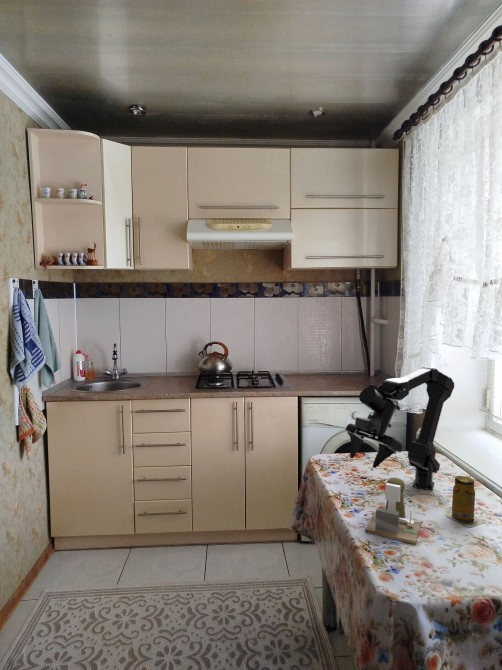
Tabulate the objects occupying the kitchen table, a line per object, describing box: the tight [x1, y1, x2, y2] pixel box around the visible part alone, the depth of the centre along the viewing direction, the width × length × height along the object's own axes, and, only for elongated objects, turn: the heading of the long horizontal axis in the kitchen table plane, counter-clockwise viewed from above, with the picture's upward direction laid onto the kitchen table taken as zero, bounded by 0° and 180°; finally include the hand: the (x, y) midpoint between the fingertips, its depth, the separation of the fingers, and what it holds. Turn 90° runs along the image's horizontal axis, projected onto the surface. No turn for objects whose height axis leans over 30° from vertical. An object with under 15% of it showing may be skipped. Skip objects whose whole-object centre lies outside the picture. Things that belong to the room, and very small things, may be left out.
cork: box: [384, 477, 406, 519], centre depth 137 cm, size 6×6×11 cm
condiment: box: [444, 475, 486, 528], centre depth 134 cm, size 7×8×12 cm
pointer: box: [407, 509, 415, 527], centre depth 129 cm, size 1×2×5 cm, turn 62°
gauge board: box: [364, 506, 422, 545], centre depth 129 cm, size 11×14×6 cm
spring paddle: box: [384, 482, 415, 523], centre depth 131 cm, size 2×8×10 cm, turn 62°
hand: (362, 462), depth 139 cm, fingers open, 9 cm apart
